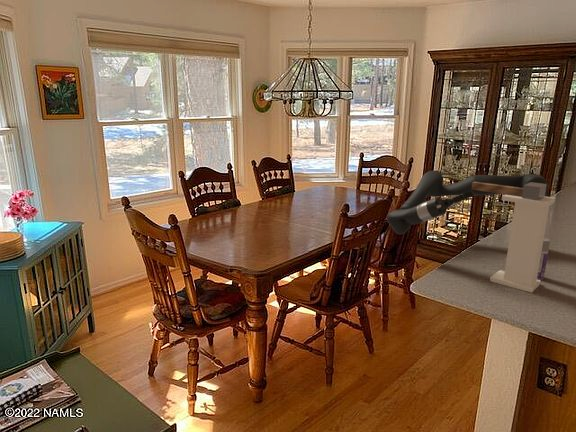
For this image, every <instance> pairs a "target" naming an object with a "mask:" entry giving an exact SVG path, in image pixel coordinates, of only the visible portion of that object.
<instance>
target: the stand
mask: <svg viewBox="0 0 576 432" xmlns="http://www.w3.org/2000/svg"><path fill="white" fill-rule="evenodd" d="M501 201H504V202H505V201H506V202H511V203H514V208H513V213H512V220H511V228H510V233H509V234H510V235H509V238H508V239H509V241H508V247H507V254H506V259H505V266H504V267H505V268H504V270H501V269H499V270H498V271H497V272H495V273H494V274H493V275H491V276H490V278H489V279H490V280H489V282H493V283H495V284H499V285H502V286H506V287H509V288H512V289H513V288H514V289H516V290H520V291H521V290H522V291H525V292H528V293H533V292H534V291H535V290H536V289H537V288H538V287H539V286H540V285H541V281H542V280H538V279H537V274H538V269H539V263H540V257H541V252H542V246H543V240H544V238H545V233H546V228H547V222H548V216H549V210H550V206H551V205H553V204H554V203H555V201H556V197H550V196H547V197H544V198H542V199H540V200H538V201H537V200H530V199H524V198H522V197H521V196H514V195H507V194H502V196H501Z"/></svg>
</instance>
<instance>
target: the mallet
mask: <svg viewBox="0 0 576 432" xmlns="http://www.w3.org/2000/svg"><path fill="white" fill-rule="evenodd" d="M546 186H547V184H542V183H533V182H530V183H528V184H525V185H524V187H523V188H519V187H512V186H504V185H497V184H489V183H481V182H472V190H479V191H486V192H493V193H500V194H501V195H505V194H507V195H514V196H521V197H522V198H524V199H530V200H537V201H538V200H540V199H542V198H544V197H545V192H546Z"/></svg>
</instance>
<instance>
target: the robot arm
mask: <svg viewBox="0 0 576 432" xmlns="http://www.w3.org/2000/svg"><path fill="white" fill-rule="evenodd" d="M443 177H444V176H443V174H442V173H441V171H437V170H429V171H427V172H426V173H424V174H423V175H422V177H421V178H420V180H419V183H418V184H417V186H416V187H415V189H414V190H413V192H412V193H411V194H410V196H409V197H408V199H407V200H406V201H405V202H404V203H403V204H402V205H401V206H400V208H399V209H396V210H392V211H390V212H389V213H388V214H387V216H386V221H387V223H388V224H389V226H390V227H391V228H392V230H393V231H394V233H396V235H404V234H406V232H408V231H409V230H410V228H411V225H417V224H420V223H423V222H427V221H431V220H433V219H436V218H438V217H441V216H444V215H446V213H447V209H449V208H453V207H454V206H455V205H459V204H460V203H461V202H463V201H465V200H467V199H469V198H472V197H474V196H493V195H499V194H500V193H493V192H486V191H479V190H472V182H481V183H489V184H497V185H504V186H512V187H519V188H523V187H524V185H525V184H528V183H530V182H533V183H542V184H547V186H546V192H545V197H548V191H549V184H548V183H549V182H548V181H547V180H546V178H545V177H543V176H542V175H540V174H537V173H531V174H520V175H498V174H497V175H495V174H474V175H470V176H468V177H465V178H464V179H461V180H459V181H458V182H454V183H449V184H444V178H443ZM449 196H450V197H449ZM427 197H430V198H431V197H432V198H431V199H429V200H427V201H425V200H426V199H427ZM433 197H434V198H433ZM441 197H447V198H441Z"/></svg>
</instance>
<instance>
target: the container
mask: <svg viewBox="0 0 576 432" xmlns="http://www.w3.org/2000/svg"><path fill="white" fill-rule="evenodd" d="M550 243H551V239H550V238H547V237H544V240H543V246H542V252H541V257H540V263H539V269H538V274H537V280H541V281H542V280H544V279H545V274H546V268H547V267H546V266H547V263H548V262H547V261H548V256H549V251H550Z"/></svg>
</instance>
